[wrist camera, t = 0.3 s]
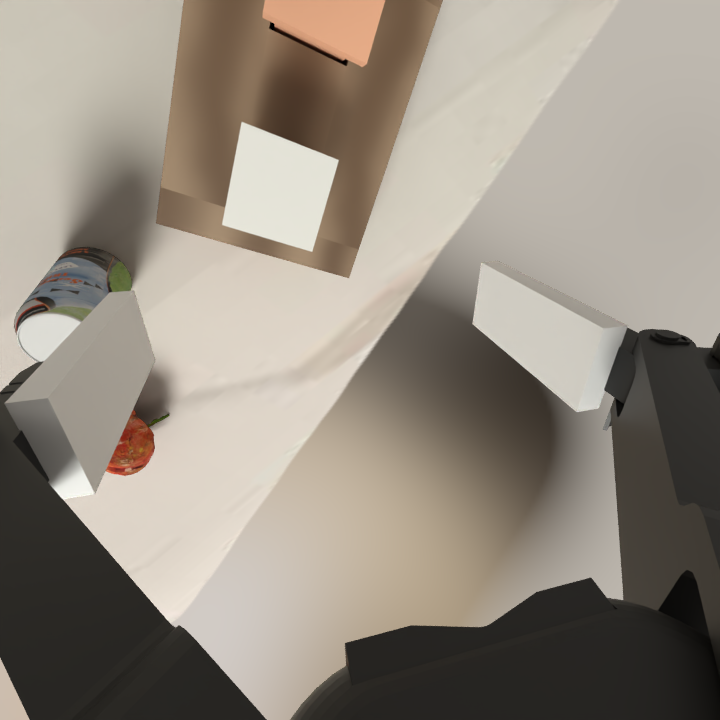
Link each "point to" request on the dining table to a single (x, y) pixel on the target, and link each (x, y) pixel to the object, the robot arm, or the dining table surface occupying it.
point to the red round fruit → (133, 447)
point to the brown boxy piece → (285, 118)
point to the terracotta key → (328, 25)
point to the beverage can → (67, 298)
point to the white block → (278, 188)
